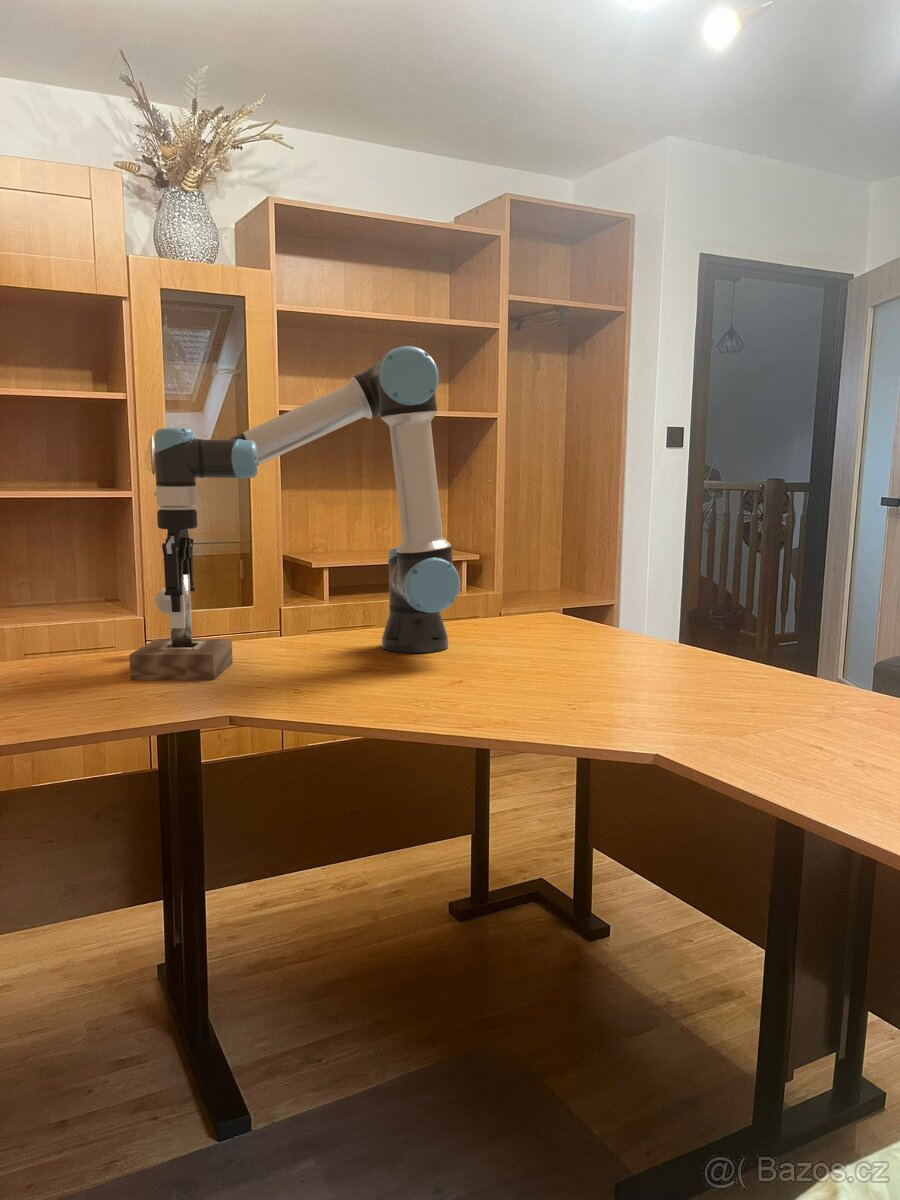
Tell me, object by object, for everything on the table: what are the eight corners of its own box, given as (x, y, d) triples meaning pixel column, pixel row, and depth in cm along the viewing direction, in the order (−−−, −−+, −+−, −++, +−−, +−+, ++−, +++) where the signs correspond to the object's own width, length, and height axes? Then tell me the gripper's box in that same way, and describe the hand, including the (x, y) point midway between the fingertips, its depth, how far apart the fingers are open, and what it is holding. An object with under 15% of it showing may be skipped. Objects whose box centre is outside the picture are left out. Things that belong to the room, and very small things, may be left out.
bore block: (232, 662, 189) (231, 637, 188) (214, 679, 173) (213, 652, 173) (156, 662, 189) (155, 637, 188) (130, 680, 173) (129, 653, 172)
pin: (194, 647, 183) (191, 573, 180) (189, 650, 179) (186, 575, 176) (174, 646, 182) (171, 573, 180) (169, 650, 179) (166, 575, 176)
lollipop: (180, 657, 194) (177, 588, 192) (153, 657, 194) (150, 588, 192) (189, 652, 200) (186, 585, 198) (163, 652, 200) (160, 585, 198)
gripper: (170, 506, 185) (174, 619, 188) (143, 510, 168) (149, 633, 171) (207, 506, 185) (210, 619, 188) (184, 510, 168) (188, 633, 172)
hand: (181, 625), depth 180 cm, fingers closed on pin, 4 cm apart
